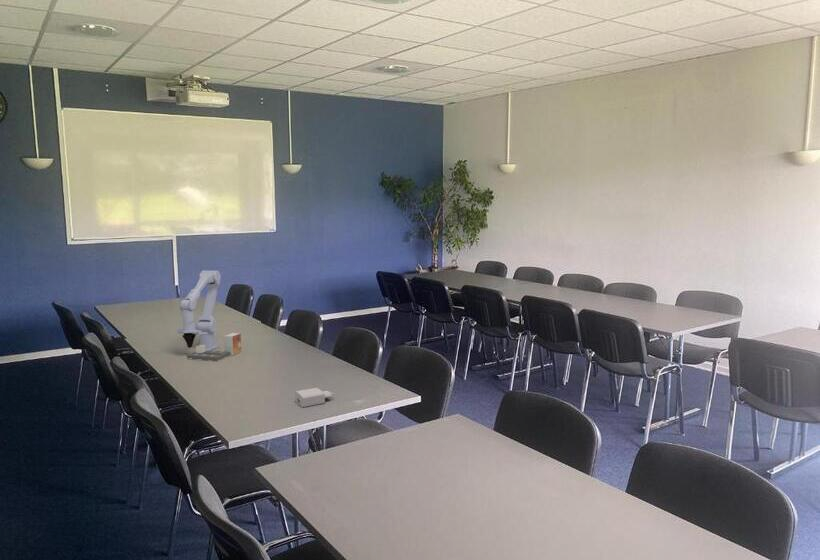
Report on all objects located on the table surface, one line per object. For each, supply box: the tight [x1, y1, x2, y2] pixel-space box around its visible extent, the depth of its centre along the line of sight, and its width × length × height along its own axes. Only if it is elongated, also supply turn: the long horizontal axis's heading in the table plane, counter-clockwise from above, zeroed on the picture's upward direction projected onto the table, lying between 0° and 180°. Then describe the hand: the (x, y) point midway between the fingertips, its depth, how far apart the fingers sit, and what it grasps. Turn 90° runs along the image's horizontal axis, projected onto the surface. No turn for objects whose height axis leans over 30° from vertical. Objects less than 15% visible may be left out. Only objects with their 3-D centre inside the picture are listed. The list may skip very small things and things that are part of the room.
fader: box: [195, 344, 206, 353], centre depth 317 cm, size 4×3×4 cm
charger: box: [294, 387, 335, 408], centre depth 245 cm, size 5×9×15 cm
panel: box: [186, 349, 231, 362], centre depth 316 cm, size 12×18×2 cm, turn 73°
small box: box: [223, 332, 242, 356], centre depth 323 cm, size 8×6×10 cm
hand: (190, 347), depth 319 cm, fingers closed
